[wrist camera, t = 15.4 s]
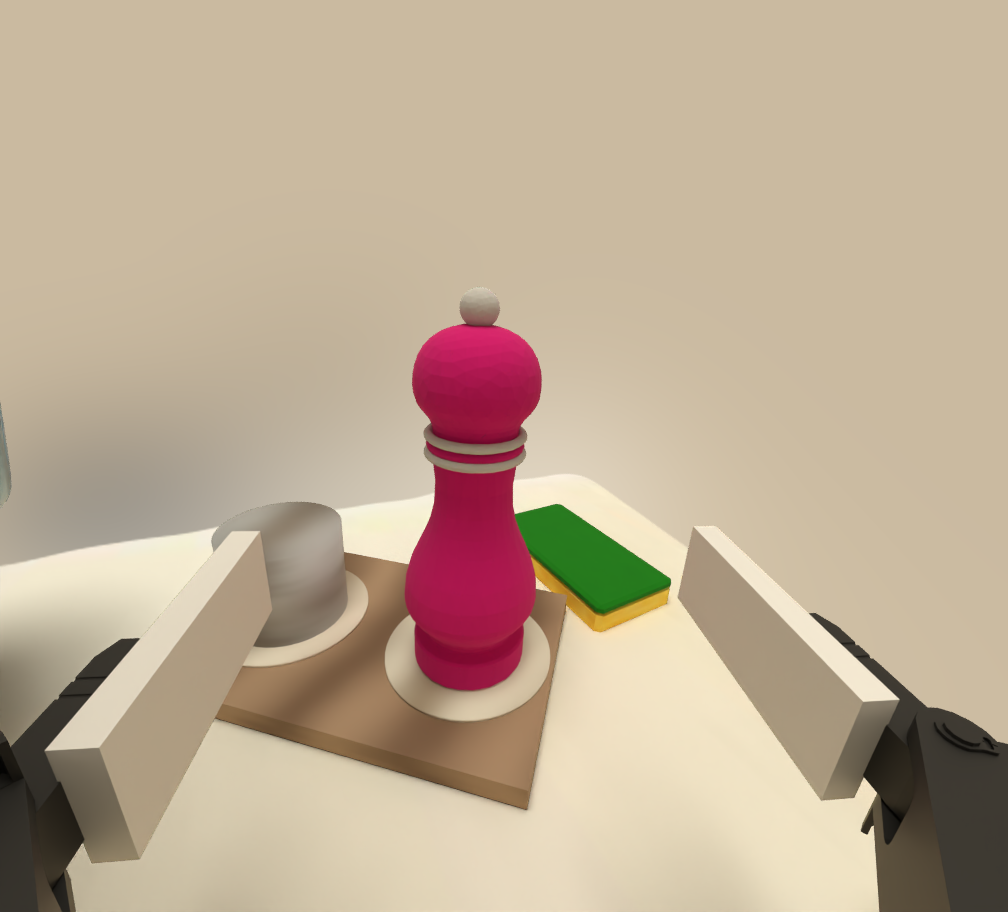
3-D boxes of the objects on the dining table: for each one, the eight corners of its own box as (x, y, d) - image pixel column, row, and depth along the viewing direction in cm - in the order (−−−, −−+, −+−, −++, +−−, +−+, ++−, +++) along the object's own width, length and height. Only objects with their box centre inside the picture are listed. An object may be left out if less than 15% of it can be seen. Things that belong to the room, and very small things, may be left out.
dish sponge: (596, 639, 31) (600, 609, 31) (494, 541, 42) (495, 517, 42) (668, 607, 35) (674, 579, 34) (557, 524, 46) (559, 502, 45)
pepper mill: (412, 609, 31) (405, 281, 23) (522, 607, 31) (547, 289, 24) (398, 703, 24) (383, 283, 17) (539, 697, 25) (581, 294, 17)
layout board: (127, 692, 25) (92, 579, 23) (295, 555, 38) (284, 473, 35) (526, 809, 21) (539, 685, 18) (565, 608, 33) (575, 519, 31)
